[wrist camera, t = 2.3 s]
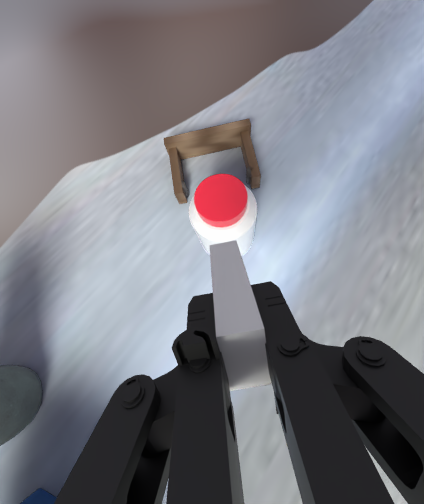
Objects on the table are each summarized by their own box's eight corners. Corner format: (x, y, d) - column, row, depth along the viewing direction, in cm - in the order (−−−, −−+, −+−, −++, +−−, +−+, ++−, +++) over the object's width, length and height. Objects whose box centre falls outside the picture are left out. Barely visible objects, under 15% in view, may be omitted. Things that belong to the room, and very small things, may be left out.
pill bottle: (226, 201, 37) (220, 151, 26) (265, 234, 34) (275, 194, 24) (189, 236, 36) (167, 199, 25) (226, 272, 33) (220, 248, 23)
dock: (248, 138, 39) (249, 118, 36) (261, 186, 36) (263, 170, 33) (170, 155, 40) (163, 138, 36) (177, 204, 37) (170, 190, 34)
